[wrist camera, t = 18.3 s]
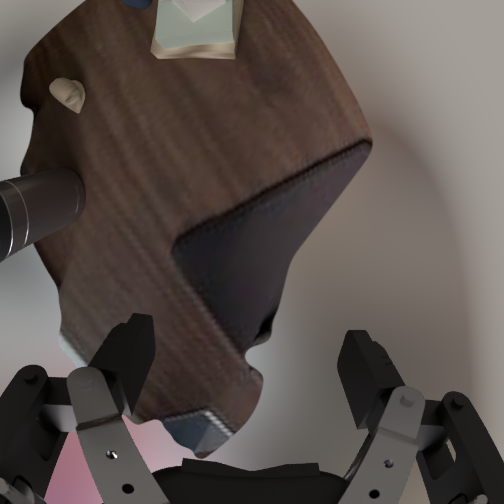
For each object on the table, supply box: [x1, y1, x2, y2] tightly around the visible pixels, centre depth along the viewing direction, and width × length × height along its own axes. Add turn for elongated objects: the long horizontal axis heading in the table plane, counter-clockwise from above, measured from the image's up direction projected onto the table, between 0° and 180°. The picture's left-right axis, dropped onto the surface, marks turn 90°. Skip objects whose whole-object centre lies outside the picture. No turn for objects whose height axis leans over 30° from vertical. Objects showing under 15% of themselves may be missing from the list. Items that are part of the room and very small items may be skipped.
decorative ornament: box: [49, 78, 85, 113], centre depth 31 cm, size 4×8×5 cm, turn 48°
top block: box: [155, 0, 234, 49], centre depth 26 cm, size 9×9×4 cm
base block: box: [150, 0, 244, 59], centre depth 29 cm, size 11×11×4 cm
